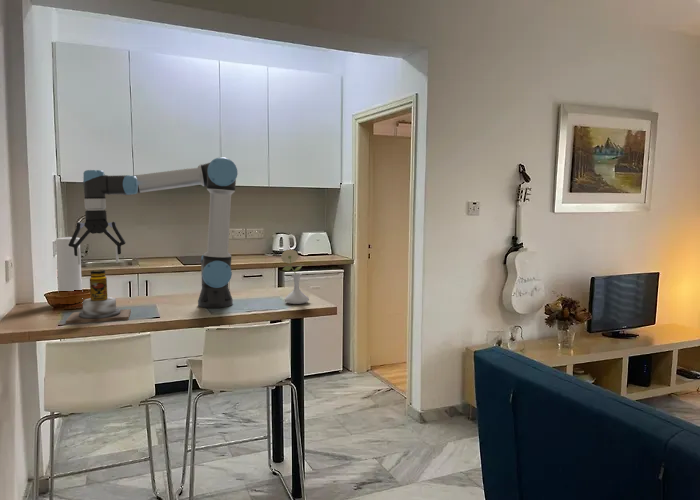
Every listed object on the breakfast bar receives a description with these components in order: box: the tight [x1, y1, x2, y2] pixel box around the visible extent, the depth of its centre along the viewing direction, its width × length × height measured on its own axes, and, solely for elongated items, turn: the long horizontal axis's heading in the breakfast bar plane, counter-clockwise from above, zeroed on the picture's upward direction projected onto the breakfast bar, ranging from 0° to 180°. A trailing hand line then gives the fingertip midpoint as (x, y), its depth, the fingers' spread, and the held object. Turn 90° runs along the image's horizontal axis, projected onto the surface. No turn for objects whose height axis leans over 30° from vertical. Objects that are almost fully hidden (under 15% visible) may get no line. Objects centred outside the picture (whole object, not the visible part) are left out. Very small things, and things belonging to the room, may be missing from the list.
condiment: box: [85, 269, 110, 302], centre depth 210 cm, size 7×8×12 cm
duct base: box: [65, 296, 132, 325], centre depth 211 cm, size 22×15×7 cm
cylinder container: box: [55, 236, 83, 292], centre depth 239 cm, size 9×9×30 cm
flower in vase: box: [280, 248, 310, 305], centre depth 241 cm, size 13×11×25 cm
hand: (98, 263), depth 209 cm, fingers open, 13 cm apart
